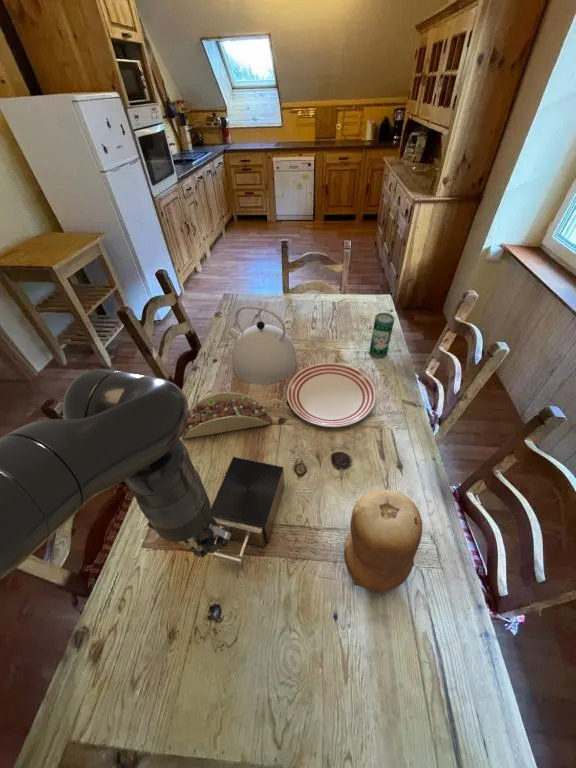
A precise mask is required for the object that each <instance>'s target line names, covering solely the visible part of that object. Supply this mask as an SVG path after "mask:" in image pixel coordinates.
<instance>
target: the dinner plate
mask: <svg viewBox="0 0 576 768" xmlns="http://www.w3.org/2000/svg"><path fill="white" fill-rule="evenodd" d="M286 399H287V402H288V405H289V407H290V408H291V410H292V411H293V412H294V414H295V415H296V416H298V417H299V418H300V419H302V420H303V421H306V422H308V423H310V424H312V425H316V426H319V427H323V428H324V427H325V428H341V427H342V428H343V427H347V426H350V425H353V424H356V423H358V422H360V421H362V420H363V419H365V418H366V417H367V416H368V415H369V414H370V413H371V412H372V411H373V409H374V407H375V404H376V401H377V391H376V388H375V385H374V384H373V382H372V381H371V379H370V377H368V376H367V375H366V374H365V373H364V372H362V371H361V370H359V369H357V368H356V367H352V366H351V365H347V364H343V363H338V362H337V363H336V362H322V363H317V364H313V365H310V366H307V367H305V368H304V369H303V368H302V370H300V371H298V372H297V373H296V374H295V375H294V376H293V377H292V378H291V380H290V381H289V383H288V386H287V389H286Z"/></svg>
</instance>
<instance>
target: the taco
mask: <svg viewBox="0 0 576 768" xmlns="http://www.w3.org/2000/svg"><path fill="white" fill-rule="evenodd" d="M271 423H272V416H270V415H269V413H268V411H267V409H266V408H265V406H264V405H263V404H262V403H261V402H259V401H258V400H257V399H256V398H254V397H252V396H249V395H247V394H244V393H241V392H218V393H216V394H213V395H209V396H207V397H204V398H203V399H201V400H200V401H199V402H197V404H195V405H194V406H192V407H191V408H190V409H188V421H187V424H186V427H185V429H184V431H183V433H182V435H181V437H180V438H182V437H183V439H190V438H195V437H201V436H207V435H214V434H220V433H225V432H232V431H236V430H244V429H251V428H254V427H255V428H256V427H261V426H266V425H270V424H271Z"/></svg>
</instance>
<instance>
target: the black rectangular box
mask: <svg viewBox="0 0 576 768" xmlns="http://www.w3.org/2000/svg"><path fill="white" fill-rule="evenodd" d="M284 471H285V470H284V466H280V465H275V464H271V463H265V462H260V461H256V460H252V459H246V458H242V457H236V456H233V457H232V459H231V460H230V464H229V466H228V468H227V471H226V473H225V475H224V476H223V479H222V482H221V484H220V486H219V489H218V491H217V493H216V496H215V498H214V500H213V503H212V504H211V517H212V516H215V517H219V518H225V519H229V520H233V521H237V522H241V523H245V524H249V525H253V526H257V527H261V528H263V533H264V538H265V544H266V545H269V543H270V539H271V536H272V532H273V529H274V525H275V523H276V519H277V514H278V511H279V507H280V504H281V501H282V497H283V494H284V491H285V488H286V487H285V473H284Z"/></svg>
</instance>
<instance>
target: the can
mask: <svg viewBox="0 0 576 768" xmlns="http://www.w3.org/2000/svg"><path fill="white" fill-rule="evenodd" d="M394 323H395V316H394V315H393V314H391V313H389V312H379V313H376V315H375V317H374V322H373V328H372V333H371V340H370V346H369V351H368V352H369V353H368V355H370V356H371V357H372V358H374V359H384V358H386V357H387V355H388V351H389V346H390V341H391V337H392V332H393V327H394Z"/></svg>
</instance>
